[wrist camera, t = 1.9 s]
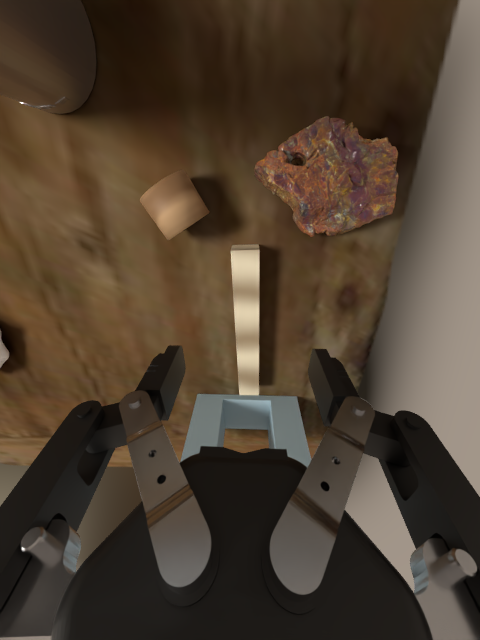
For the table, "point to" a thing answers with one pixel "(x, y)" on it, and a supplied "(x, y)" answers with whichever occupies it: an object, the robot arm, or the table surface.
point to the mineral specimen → (332, 177)
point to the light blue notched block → (248, 422)
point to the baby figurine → (3, 352)
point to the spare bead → (174, 204)
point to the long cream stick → (246, 315)
